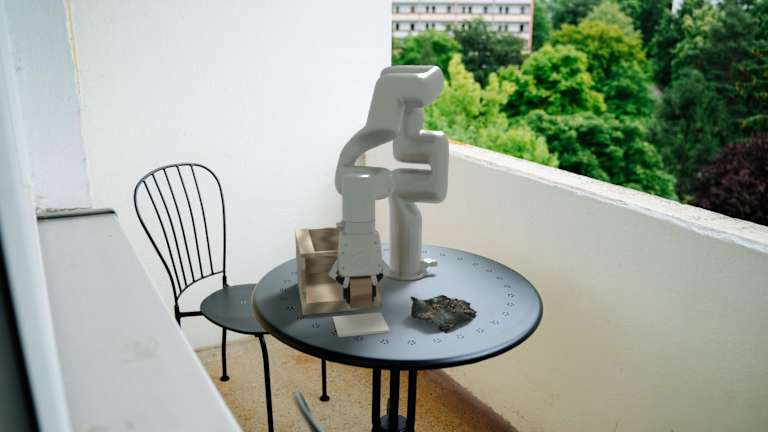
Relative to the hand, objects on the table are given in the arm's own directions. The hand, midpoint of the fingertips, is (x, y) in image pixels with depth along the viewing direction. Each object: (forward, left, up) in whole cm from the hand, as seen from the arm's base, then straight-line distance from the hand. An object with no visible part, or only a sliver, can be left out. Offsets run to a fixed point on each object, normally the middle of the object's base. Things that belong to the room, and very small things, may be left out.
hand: (359, 299), depth 137 cm
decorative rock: (-21, -2, -7) cm, 23 cm away
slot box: (+3, -20, -7) cm, 21 cm away
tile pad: (0, 0, -7) cm, 7 cm away
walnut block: (0, 0, -1) cm, 1 cm away
